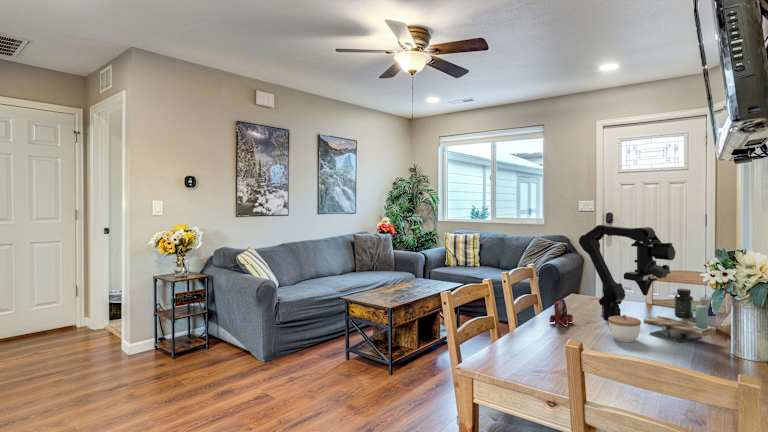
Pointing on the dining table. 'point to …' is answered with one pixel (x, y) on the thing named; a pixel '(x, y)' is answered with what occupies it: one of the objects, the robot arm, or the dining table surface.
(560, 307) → the dark red irregular piece
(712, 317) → the energy drink
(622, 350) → the dining table surface
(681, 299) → the supplement bottle
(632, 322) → the lidded jar
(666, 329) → the beam stand
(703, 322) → the green rectangular block
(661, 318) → the balance beam
